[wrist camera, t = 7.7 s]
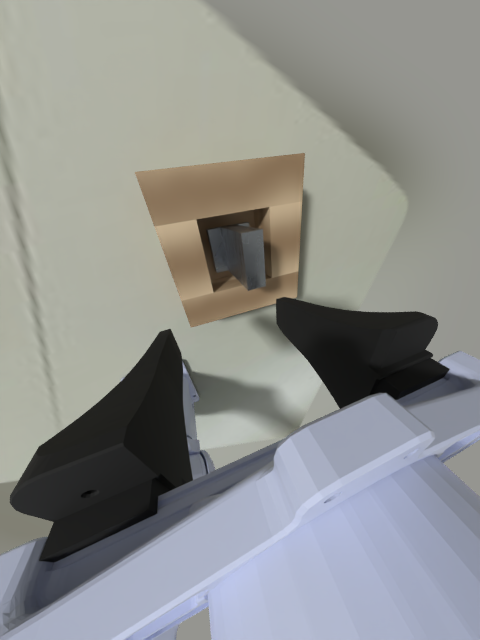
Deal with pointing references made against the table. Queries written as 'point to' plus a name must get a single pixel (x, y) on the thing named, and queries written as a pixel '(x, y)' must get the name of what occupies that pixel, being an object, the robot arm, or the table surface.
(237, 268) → the grey block
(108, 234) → the table surface
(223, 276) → the well block
